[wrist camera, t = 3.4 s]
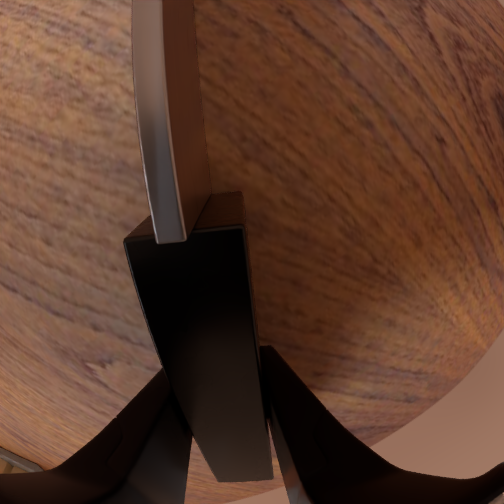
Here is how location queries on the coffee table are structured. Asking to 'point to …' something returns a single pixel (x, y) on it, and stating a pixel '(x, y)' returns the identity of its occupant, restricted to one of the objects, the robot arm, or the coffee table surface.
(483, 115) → the coffee table surface
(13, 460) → the cake plate
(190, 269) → the knife
